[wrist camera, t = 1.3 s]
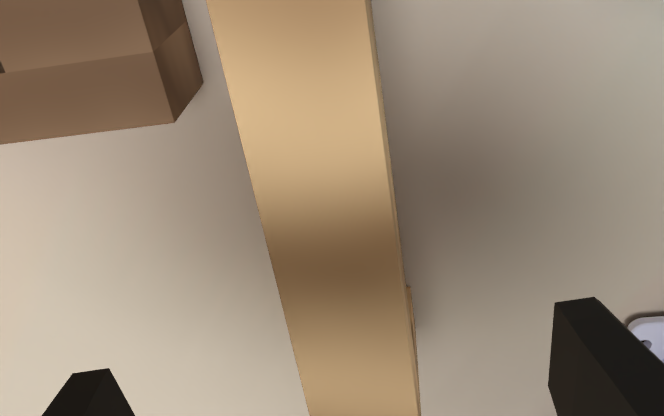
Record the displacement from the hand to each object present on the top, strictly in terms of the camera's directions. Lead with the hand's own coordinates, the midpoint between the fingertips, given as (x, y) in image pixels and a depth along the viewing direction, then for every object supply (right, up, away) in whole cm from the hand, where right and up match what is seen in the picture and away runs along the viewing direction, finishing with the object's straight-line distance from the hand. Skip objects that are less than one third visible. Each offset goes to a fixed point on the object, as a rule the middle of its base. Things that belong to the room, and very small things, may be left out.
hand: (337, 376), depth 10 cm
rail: (0, +4, +10) cm, 11 cm away
